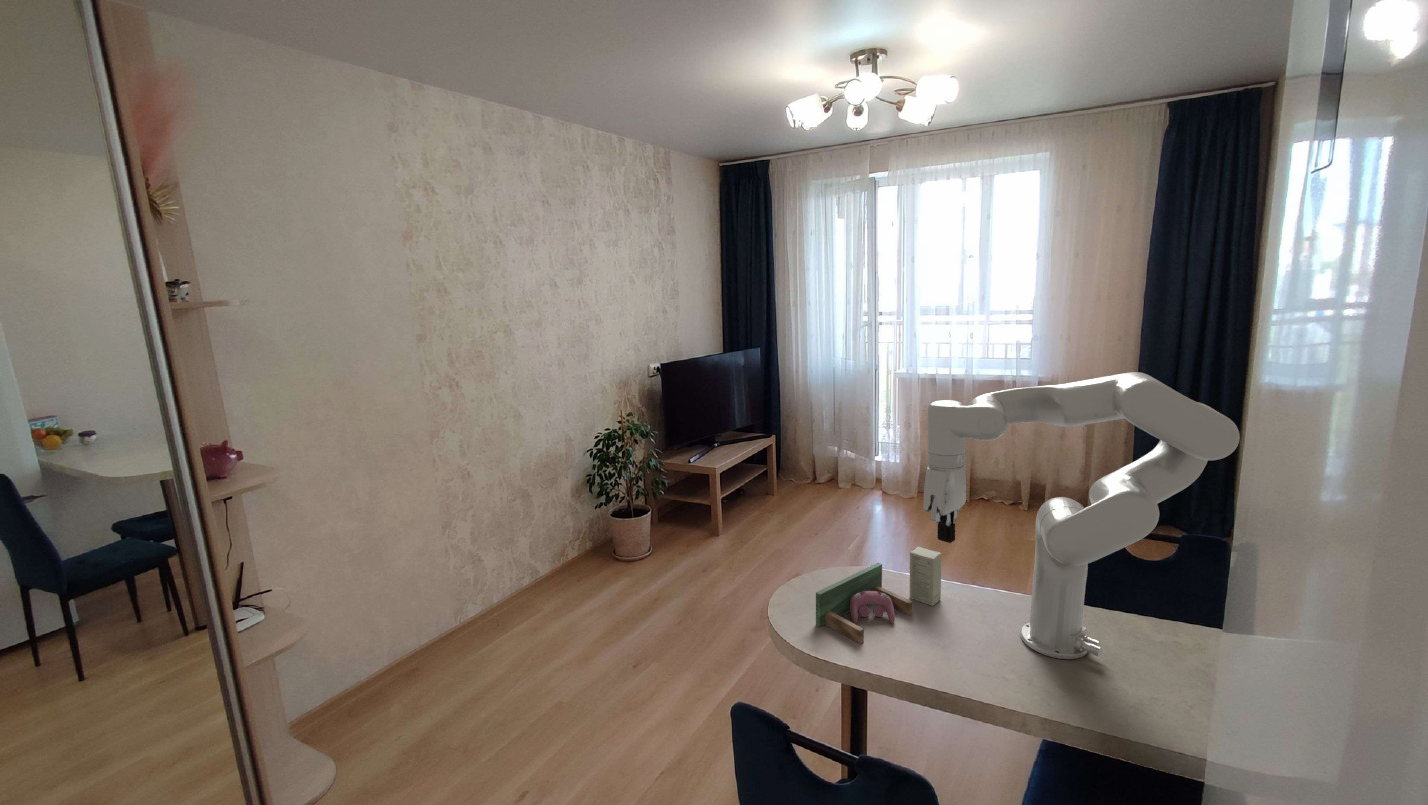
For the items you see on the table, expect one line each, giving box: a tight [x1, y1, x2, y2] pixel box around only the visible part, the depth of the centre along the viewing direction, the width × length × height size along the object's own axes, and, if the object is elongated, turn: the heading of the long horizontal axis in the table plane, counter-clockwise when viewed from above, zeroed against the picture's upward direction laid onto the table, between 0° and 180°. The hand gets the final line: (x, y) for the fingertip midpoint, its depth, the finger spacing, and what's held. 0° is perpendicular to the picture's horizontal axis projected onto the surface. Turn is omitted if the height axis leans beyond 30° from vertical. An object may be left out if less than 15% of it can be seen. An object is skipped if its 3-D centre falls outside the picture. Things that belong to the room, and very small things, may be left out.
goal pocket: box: [815, 562, 913, 644], centre depth 143 cm, size 11×22×8 cm, turn 128°
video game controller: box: [849, 591, 896, 624], centre depth 144 cm, size 10×5×7 cm, turn 86°
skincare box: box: [909, 546, 942, 607], centre depth 150 cm, size 6×4×12 cm
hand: (946, 540), depth 136 cm, fingers closed
